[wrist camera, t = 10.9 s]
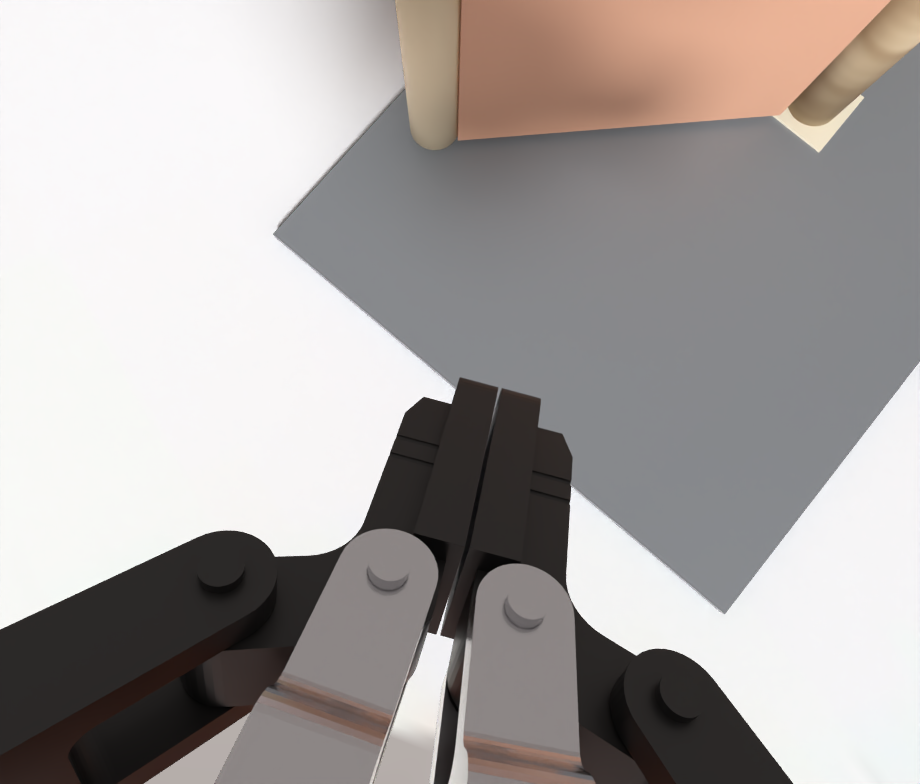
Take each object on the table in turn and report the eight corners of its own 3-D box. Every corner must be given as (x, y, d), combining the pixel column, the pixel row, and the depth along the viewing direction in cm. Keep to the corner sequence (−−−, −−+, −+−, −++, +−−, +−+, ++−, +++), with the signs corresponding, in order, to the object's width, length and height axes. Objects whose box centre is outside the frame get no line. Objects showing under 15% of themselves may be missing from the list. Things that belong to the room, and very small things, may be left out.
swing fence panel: (781, 122, 24) (958, -57, 16) (412, 152, 24) (392, -15, 15) (774, 76, 24) (945, -124, 16) (408, 105, 24) (385, -85, 15)
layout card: (1154, 48, 25) (1169, 40, 25) (719, 611, 23) (725, 614, 22) (734, -268, 27) (739, -282, 26) (275, 237, 24) (272, 233, 24)
